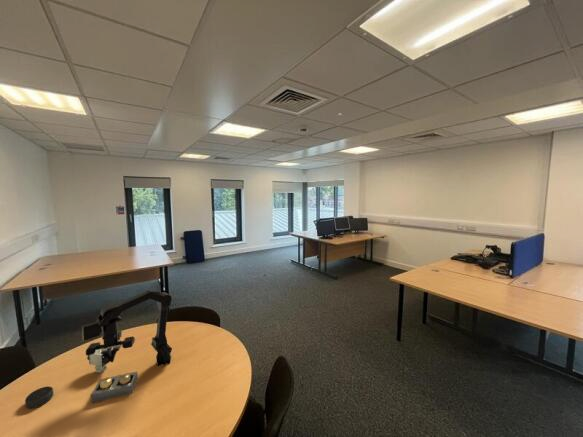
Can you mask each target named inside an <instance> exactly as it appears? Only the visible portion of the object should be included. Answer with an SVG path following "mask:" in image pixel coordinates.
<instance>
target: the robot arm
mask: <svg viewBox="0 0 583 437" xmlns="http://www.w3.org/2000/svg"><path fill="white" fill-rule="evenodd" d="M149 300H153V301H155V302H156V305H157V309H158V312H157V313H158V315H157V325H156V334H155V336H154V337H151V344H150V345H151V346H152V348H153V349H154V351H156V352H157V353H156V363H157V367H159V366H164V365H168V364H169V365H170V364H171V359H172V355H171V354H172V351H173V350H172V349H173V348H172V347H171V345H169V344H168V339H167V335H166V331H167V323H168V322H167V321H168V310H169V308H170V307H171V304H172V301H173V300H172V296H171V295H170V294H168V293H167V292H164V291H162V292H159V291H156V290H152V289H148V290H145V291H144V292H141V293H140V294H137V295H135V296H133V297H130V298H128V299H125V300H123V301H121V302H115V303H111V304H107V305H104V306H103V307H102V308H101V310H100V314H99V315H98V316H97V318H96V319H95V322H92V323H86V324H84V325H82V329H81V337H82V342H86V341H88V340H90V339H91V340H92V339H94V338H97V337H100V336H101V335H102V340H103V344H101V342H93V343H90V345H88V347H87V348H86V349H85V356H88V355H92V354H94V353H95V352H96V350H99V349H101V354H103V355H105V356H106V357H107V358H108V359H109V361H110V362H109V363H114V361H115V358H116V354H117V352H119V351H120V349H121V348H123V350H124V349H130V348H132V347H133V345H134V344H135V342H136V338H135V336H127V337H125V338H124V340H121V338H122V334H123V330H119V329H118V322H121V321H123V318H122V317H121V315H122V314H123V312H124V313H125V311H127V310H130V309H131V308H133V307H136V306H137V305H140V304H142V303H144V302H147V301H149Z"/></svg>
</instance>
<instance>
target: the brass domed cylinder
mask: <svg viewBox="0 0 583 437" xmlns="http://www.w3.org/2000/svg"><path fill="white" fill-rule="evenodd" d="M111 377H112V376H109V377H105V379H104V378H102V379H103V380H102V381H101V382H100V389H101V390H103V389H107V388H111V386H112V378H111Z"/></svg>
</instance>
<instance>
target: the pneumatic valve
mask: <svg viewBox="0 0 583 437" xmlns="http://www.w3.org/2000/svg"><path fill="white" fill-rule="evenodd" d="M86 359H87V361H88V362H89V365H92V366H94V369H95V373H98V374H99V373H100V374H101V373H103V372H105V371H106V370H107V368H108V367H107V365H108V364H109V363H111V362H110V361H109V359H108V358H107V357H106V356H105V355H103V354H101V349H99V350H96V352H95V353H94V354H92V355H87V356H86Z"/></svg>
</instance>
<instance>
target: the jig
mask: <svg viewBox="0 0 583 437" xmlns="http://www.w3.org/2000/svg"><path fill="white" fill-rule="evenodd" d="M129 373H130V375H131V383H129V384H124V385H120V377H121V376H122V375H123V374H120V375H119V374H118V375H115V376H110V377H111V378H112V386H111V388H107V389H103V390H101V389H100V382H101V381H102V380H103V379H105V378H106V377H105V378H100V379H99V380H98V382H97V384H96V385H95V387H94V388H93V390H92V393H91V395H90V399H91V400H90V401H91V404H94V403H99V402H102V401H107V400H111V399H115V398H118V397H122V396H126V395H132V394H133V393H134V390H135V388H136V385H137V381H138V379H139V377H138V376H139V375H138V371H133V372H129Z"/></svg>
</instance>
